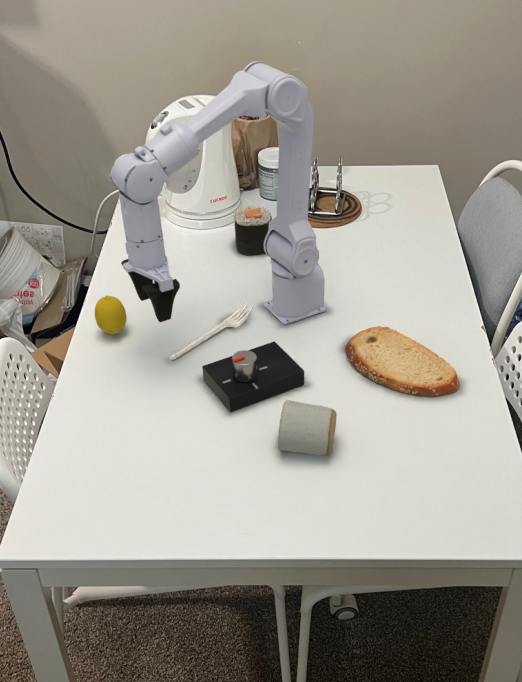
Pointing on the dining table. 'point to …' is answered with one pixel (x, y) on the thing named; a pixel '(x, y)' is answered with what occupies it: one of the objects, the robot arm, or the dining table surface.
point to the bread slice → (400, 363)
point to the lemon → (110, 315)
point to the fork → (217, 329)
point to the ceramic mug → (306, 428)
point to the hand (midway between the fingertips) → (155, 309)
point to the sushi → (251, 229)
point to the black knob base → (271, 380)
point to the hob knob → (244, 366)
